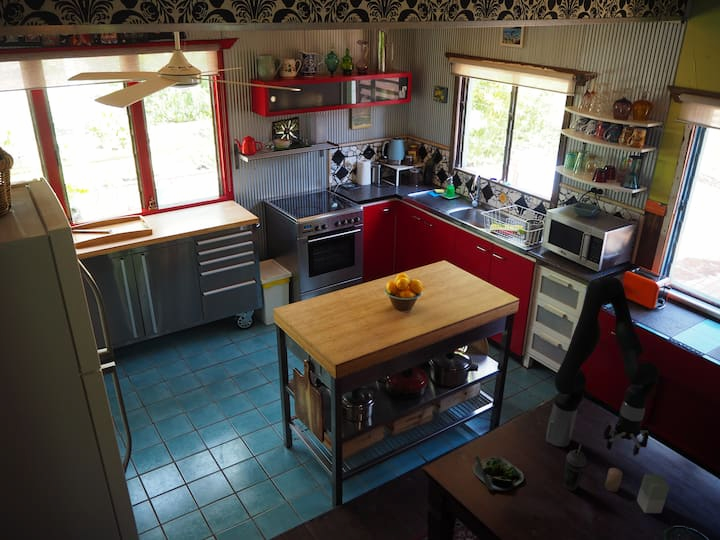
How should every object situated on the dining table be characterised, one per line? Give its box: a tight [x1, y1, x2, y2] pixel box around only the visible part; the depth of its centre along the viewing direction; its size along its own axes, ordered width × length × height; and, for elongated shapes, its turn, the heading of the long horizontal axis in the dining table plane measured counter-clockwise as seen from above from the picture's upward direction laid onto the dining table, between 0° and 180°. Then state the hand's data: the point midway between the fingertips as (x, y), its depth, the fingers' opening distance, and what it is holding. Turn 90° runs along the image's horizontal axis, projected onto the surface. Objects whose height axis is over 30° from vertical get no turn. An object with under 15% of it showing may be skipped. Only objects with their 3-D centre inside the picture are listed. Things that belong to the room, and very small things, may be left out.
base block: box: [636, 487, 666, 514], centre depth 214 cm, size 6×6×6 cm
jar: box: [604, 467, 623, 493], centre depth 222 cm, size 5×5×7 cm
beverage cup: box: [563, 443, 587, 492], centre depth 218 cm, size 7×7×20 cm
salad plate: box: [473, 455, 525, 493], centre depth 225 cm, size 19×18×5 cm
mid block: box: [640, 473, 671, 501], centre depth 211 cm, size 6×6×6 cm
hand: (621, 451), depth 217 cm, fingers open, 8 cm apart
